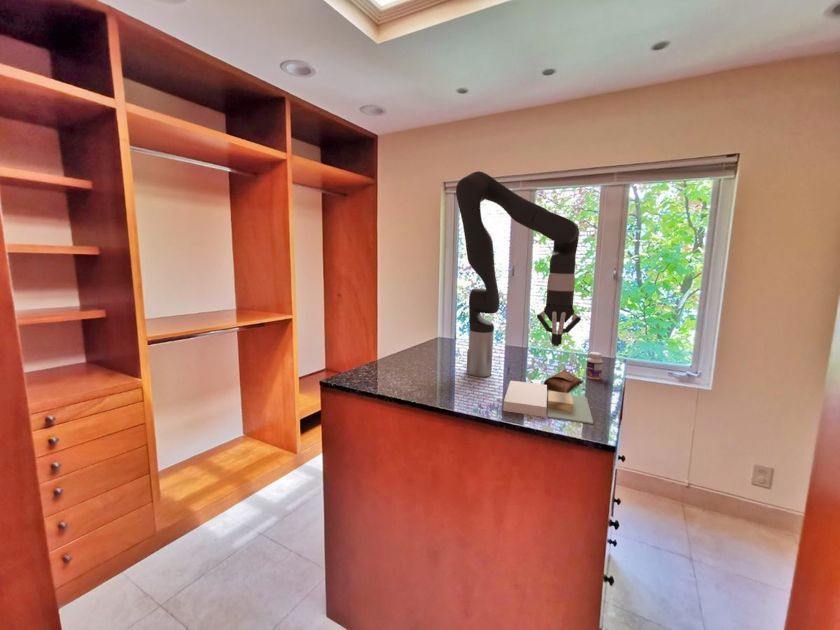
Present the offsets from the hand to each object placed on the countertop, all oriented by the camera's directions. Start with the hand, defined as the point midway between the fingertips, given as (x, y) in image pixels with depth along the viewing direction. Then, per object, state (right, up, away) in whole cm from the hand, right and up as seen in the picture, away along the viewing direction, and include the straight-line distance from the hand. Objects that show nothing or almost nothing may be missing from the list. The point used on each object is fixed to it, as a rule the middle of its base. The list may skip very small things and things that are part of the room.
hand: (556, 345), depth 113 cm
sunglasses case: (+11, -17, +22) cm, 30 cm away
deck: (-8, -18, +5) cm, 20 cm away
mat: (+4, -19, +1) cm, 20 cm away
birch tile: (+2, -19, +2) cm, 19 cm away
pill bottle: (+26, -15, +31) cm, 42 cm away
